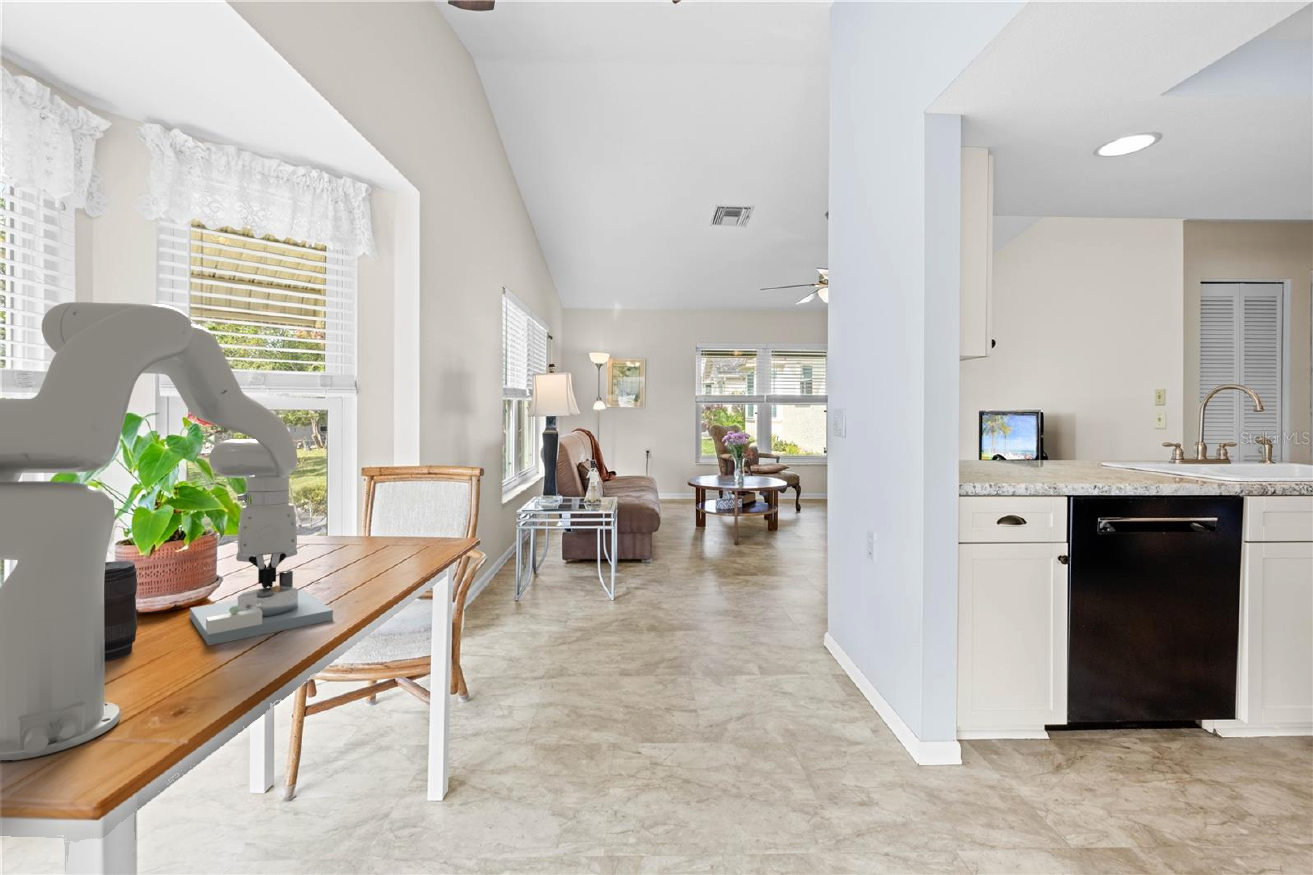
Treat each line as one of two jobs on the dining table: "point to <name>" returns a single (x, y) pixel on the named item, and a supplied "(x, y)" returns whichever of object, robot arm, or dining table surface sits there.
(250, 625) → the level board
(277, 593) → the dial
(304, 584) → the dining table surface
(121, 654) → the camera lens
